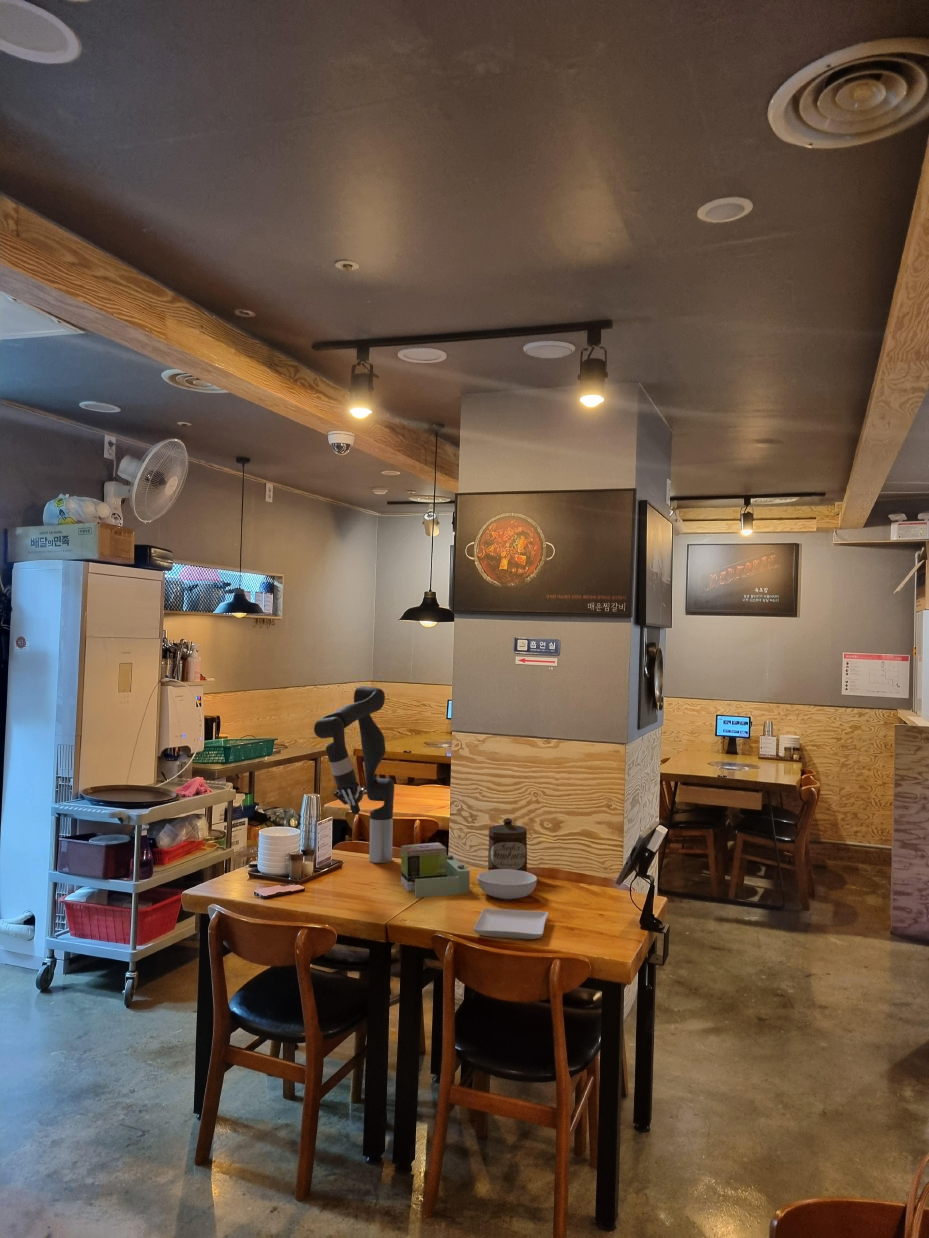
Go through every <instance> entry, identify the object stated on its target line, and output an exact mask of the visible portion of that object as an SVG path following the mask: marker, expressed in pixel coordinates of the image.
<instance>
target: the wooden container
mask: <svg viewBox="0 0 929 1238" xmlns="http://www.w3.org/2000/svg"><path fill="white" fill-rule="evenodd" d="M502 822H503V824H496V825H493V826H490V827H488V856H487V871H488V870H496V869H511V870H519V871H525V872H528V842H527V841H528V840H527V839H528V837H527V836H528V834H527V827H524V826H522V825H517V824H512V823H513V820H512V819H511V818H509V817H505V818H504V819H503V820H502Z"/></svg>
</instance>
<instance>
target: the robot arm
mask: <svg viewBox="0 0 929 1238" xmlns="http://www.w3.org/2000/svg"><path fill="white" fill-rule="evenodd" d="M385 700H386V695H385V691H384V690H383V689H381V688H378V687H376V686H375V687H374V686H366V685H360V686H358V687H356V688H355V690H354V693H353V702H352V703H349V704H346V705H343V706H342V707H340V708H338V709H337V710H336V711H335V712H332V713H330V714H327V715H325V716H323V717H320V718H319V719H318V720H316V722H315V723H314V726H313V731H314V734H315V736H316V737H317V738H319V739H330V738H332V739H333V741H332V742H330V743H328V744H327V745H326V747H325V751H326V755H327V758H328V761H329V765H330V766H329V767H330V770H331V773H332V776H333V778H334V779H333V780H334V781H335V785H336V786H337V787H336V788H337V790H336V791H335V792H334V793H333V795H334V797H335V798H337V799H338V801H340V803H342V804H343V805H345V806H346V805H348V806H349V808H350V811H351V813H352V814H353V815H359V813H361V812H360V811H361V808H360V805H359V803H361V801H362V800H363V797H364V795H365V792H366V796H367V799H368V800H369V801H372V802H373V801H374V802H383V805H382V806H380V807H377V808H374V809H372V810H370V812H369V856H368V858H369V862H371V863H375V864H384V863H390V862H392V861H393V828H394V827H393V826H394V825H393V821H394V820H393V817H394V797H395V782H394V780H393V778H387V777H386V778H384V777H383V778H382V777H376V771H377V768H378V767H379V765H380V763H381V762H382V760H383V759H384V757H385V754H386V751H387V750H386V741H385V736H384V733H383V732H382V730H381V729H380V727H379V726H378V724H376V722H375V721H374V719H373V717H372V716H371V714H373V713H374V714H375V713H376V712H378V711H380V710H382V708H383V707H384V704H385V702H386V701H385ZM356 721H358V725H359V732H360V733H359V734H360V742H361V750H362V756H363V757H362V758H363V762H364V770H365V771H364V773H365V774H364V775H365V786H360V783H359V782H358V781H357V775H356V772H355V770H354V765H353V764H352V760H351V758H350V756H349V752H348V750H347V746H346V738H345V729H346V728H348V727H349V726H350V725H352V724H354V722H356Z"/></svg>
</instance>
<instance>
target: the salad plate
mask: <svg viewBox="0 0 929 1238" xmlns="http://www.w3.org/2000/svg"><path fill="white" fill-rule="evenodd" d="M548 916H549V912H548V911H537V910H536V911H535V910H526V909H525V910H521V909H502V908H483V909H482V911H481V912H480V915H479V917H478V919H477V921H476V923H475V924H474V926H473V928H472V930H473V932H474V933H476V934H477V935H480V936H484V937H491V938H503V939H513V940H514V939H516V940H536V939H539V938H541V937H542V936H543V935H544V932H545V931H544V930H545V925H546V921H547V918H548Z"/></svg>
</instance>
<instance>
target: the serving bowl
mask: <svg viewBox="0 0 929 1238" xmlns="http://www.w3.org/2000/svg"><path fill="white" fill-rule="evenodd" d="M537 881H538V877H537V876H536V875H535V874H533V873H530V872H528V871H527V872H525V871H519V870H511V869H496V870H488V869H487V870H484V871H482V872H479V873H478V874H477V882H478V885H479V888H480V889H481V891H482V892H483V893H485V894H487V895H488V896H490V897H492V898H493V897H494V898H495V899H496V898H497V899H500V900H516V899H521V898H524V897H527V896H529V895H530V894H531V893H532V892H533V891H534V890H535V889H536V885H537Z"/></svg>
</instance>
